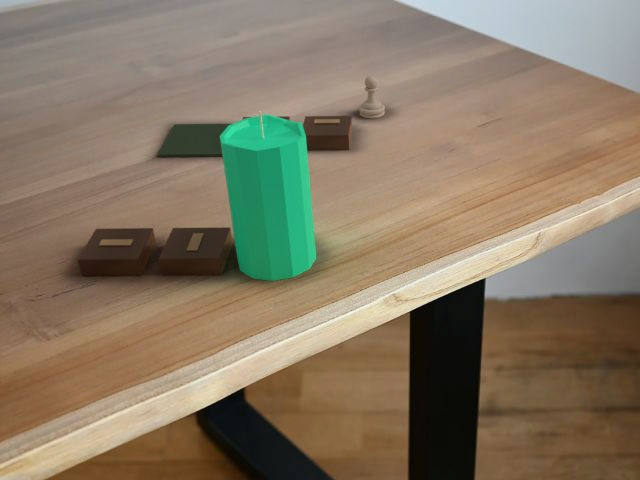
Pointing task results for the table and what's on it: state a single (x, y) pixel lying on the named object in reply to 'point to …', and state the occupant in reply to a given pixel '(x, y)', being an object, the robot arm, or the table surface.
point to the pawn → (371, 101)
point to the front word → (138, 244)
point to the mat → (193, 141)
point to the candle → (269, 196)
